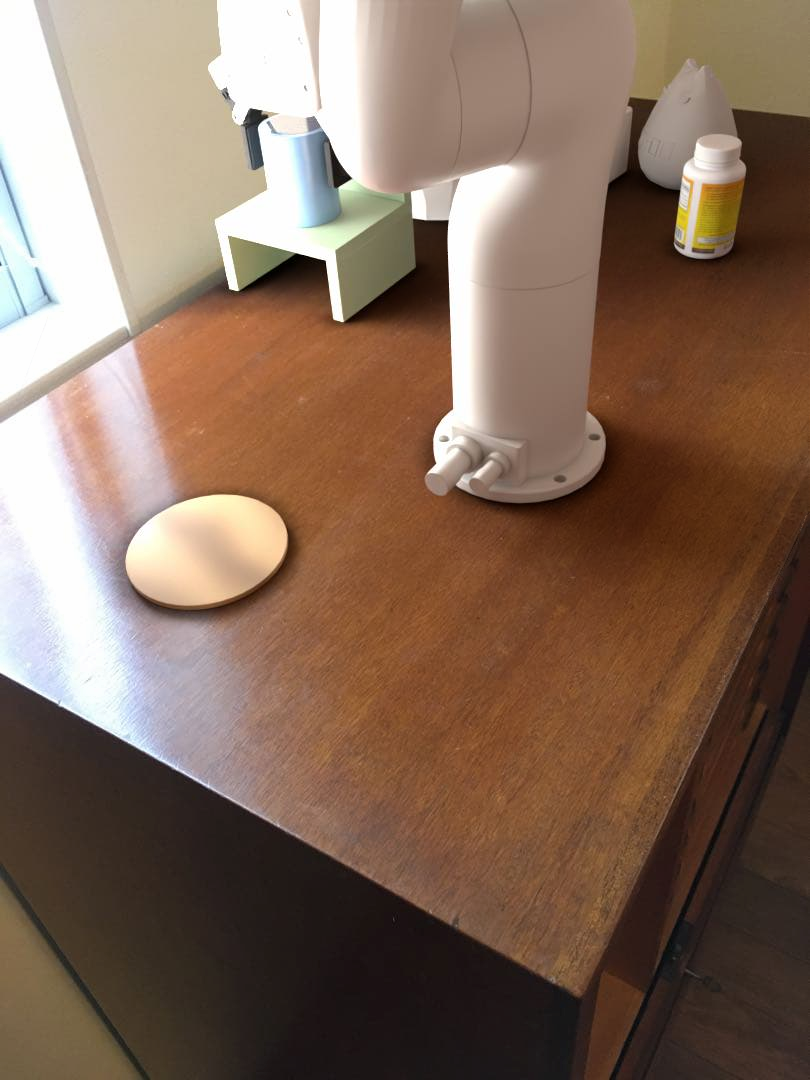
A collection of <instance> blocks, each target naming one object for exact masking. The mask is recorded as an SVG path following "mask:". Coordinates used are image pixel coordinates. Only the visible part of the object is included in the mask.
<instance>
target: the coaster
mask: <svg viewBox="0 0 810 1080" xmlns="http://www.w3.org/2000/svg"><path fill="white" fill-rule="evenodd" d="M288 548H289V534H288V531H287V526H286V524H285V522H284V520H283V518H282V517H281V515H280V514H279V513H278V512H276V511H275V509H274V508H272V507H271V506H270V505H268V504H266V503H265V502H262V501H260V500H258V499H255V498H252V497H248V496H243V495H237V494H210V495H204V496H199V497H194V498H190V499H187V500H184V501H182V502H179V503H177V504H173V505H171V506H170V507H168V508H166V509H164V510H163V511H160V512H159V513H157V514H156V515H155V516H153V517H152V518H150V519H149V520H148V521H147V522H146V523H144V524H143V526H141V528H139V530H138V531H137V532H136V533H135V535H134V536H133V538H132V540H131V541H130V543H129V545H128V548H127V551H126V554H125V561H124V562H125V571H126V575H127V577H128V580H129V582H130V584H131V585H132V587H133V588H134V590H135V591H136V592H137V593H138V594H139V595H141V596H142V597H143V598H145V599H146V600H148V602H151V603H154V604H155V605H158V606H161V607H165V608H168V609H175V610H184V611H194V610H195V611H196V610H197V611H198V610H206V609H213V608H217V607H221V606H225V605H228V604H231V603H234V602H236V601H238V600H239V601H240V600H241V599H244V598H245V597H247V596H249V595H251V594H252V593H254V592H256V591H257V590H259V589H260V588H261V587H263V586H264V585H265V584H267V583H268V582H269V581H270V580H271V579H272V578H273V577H274V575H276V573H277V572H278V571H279V569H280V568H281V566H282V565H283V563H284V561H285V559H286V556H287V553H288Z"/></svg>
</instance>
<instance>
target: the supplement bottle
mask: <svg viewBox="0 0 810 1080" xmlns="http://www.w3.org/2000/svg"><path fill="white" fill-rule="evenodd" d="M742 145H743V142H742V141H741V139H740V138H739V137H737V138H736V137H734V136H730V135H724V134H712V135H706V136H703V137H701V138H699V139H698V140H697V142H696V148H695V152H694V154H695V155H694V158H692V159H690V160H689V161H688V162H687V163H686V164H685V166H684V170H683V177H682V184H681V190H680V192H679V199H678V207H677V215H676V223H675V231H674V237H673V238H674V239H673V245H674V248H675V249H676V251H677V252H679V253H680V254H681V255H683V256H685V257H688V258H693V259H697V260H698V259H700V260H712V259H717V258H720V257H722V256H725V255H727V254H728V253H729V252H730V251H731V250H732V248H733V246H734V242H735V235H736V230H737V224H738V218H739V213H740V208H741V204H742V203H741V202H742V198H743V197H742V196H743V190H744V185H745V180H746V174H747V167H746V164H745V163H744V162H743V160H742V159H740V157H741V156H742V155H741V151H742Z"/></svg>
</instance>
